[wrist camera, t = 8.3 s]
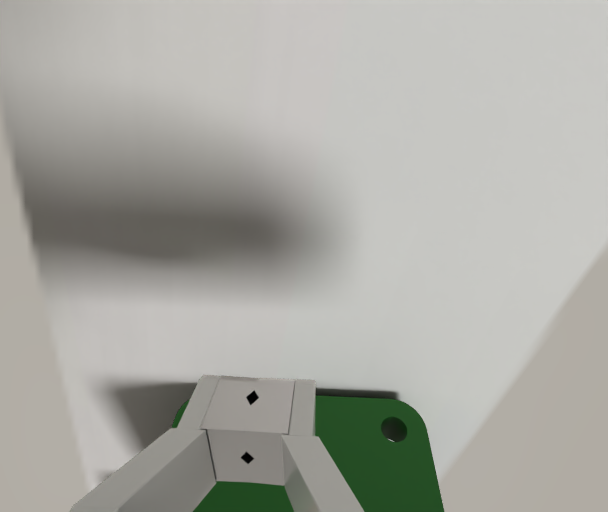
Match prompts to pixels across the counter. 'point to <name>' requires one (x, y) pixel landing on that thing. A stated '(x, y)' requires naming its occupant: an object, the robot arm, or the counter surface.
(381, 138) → the counter surface
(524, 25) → the counter surface
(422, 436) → the clamp
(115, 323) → the counter surface
